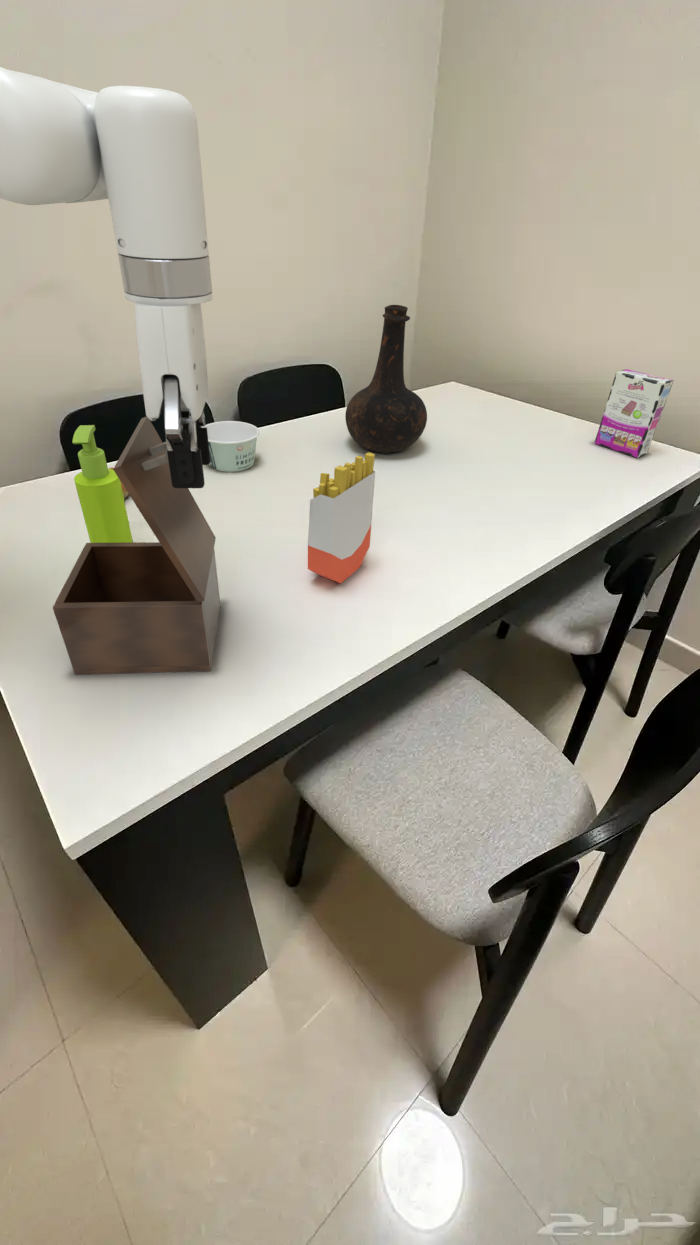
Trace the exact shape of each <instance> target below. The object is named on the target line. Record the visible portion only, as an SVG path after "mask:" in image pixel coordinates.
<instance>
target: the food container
mask: <svg viewBox="0 0 700 1245" xmlns="http://www.w3.org/2000/svg"><path fill="white" fill-rule="evenodd" d="M200 428H207V433H208V443H209V452H210V463H209V465H208V466H209V467H210V468H212V469H213V470H215V471H219V472H227V473H228V472H229V473H233V472H241V471H246V470H247V469H250V468H252V467H253V466H254V464H255V457H256V449H257V440H258V436H259V435H260V429H259V428H258V427H257V426H256V425H254V424H251V423H250V422H249V423H248V422H244V421H238V420H222V421H214V422H210V423H207V424H205V427H200Z"/></svg>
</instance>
